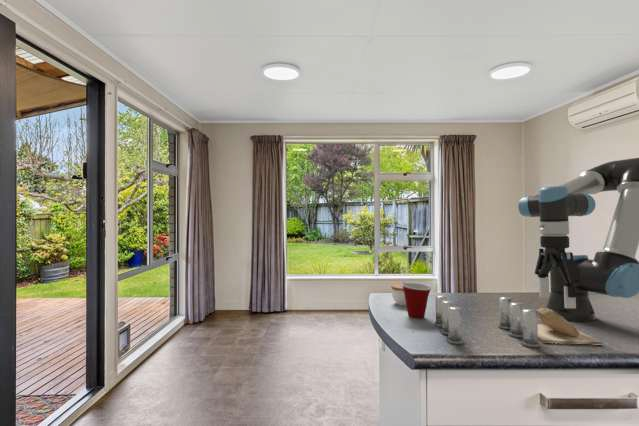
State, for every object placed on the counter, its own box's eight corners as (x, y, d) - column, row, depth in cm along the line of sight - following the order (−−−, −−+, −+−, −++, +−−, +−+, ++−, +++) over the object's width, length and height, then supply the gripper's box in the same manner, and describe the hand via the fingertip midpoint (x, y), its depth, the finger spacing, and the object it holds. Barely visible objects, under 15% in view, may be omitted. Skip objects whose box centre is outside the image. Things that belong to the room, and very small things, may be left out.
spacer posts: (509, 326, 115) (509, 296, 115) (542, 348, 94) (542, 312, 95) (433, 323, 117) (433, 294, 118) (449, 344, 97) (449, 309, 97)
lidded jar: (421, 306, 142) (421, 283, 142) (399, 307, 139) (399, 285, 139) (408, 300, 152) (408, 279, 153) (387, 301, 149) (387, 280, 150)
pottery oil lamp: (566, 340, 98) (565, 316, 98) (529, 327, 110) (529, 306, 110) (588, 337, 101) (587, 313, 101) (550, 325, 112) (550, 304, 112)
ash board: (567, 328, 112) (567, 325, 112) (602, 345, 97) (602, 342, 97) (517, 326, 114) (517, 323, 114) (543, 343, 98) (543, 340, 98)
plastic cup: (433, 322, 119) (433, 288, 120) (402, 320, 121) (402, 286, 122) (430, 313, 130) (430, 282, 130) (401, 312, 132) (401, 281, 132)
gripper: (522, 233, 119) (524, 293, 119) (566, 237, 94) (568, 313, 94) (545, 233, 118) (546, 293, 118) (594, 237, 93) (597, 313, 93)
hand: (556, 302), depth 106 cm, fingers open, 13 cm apart
